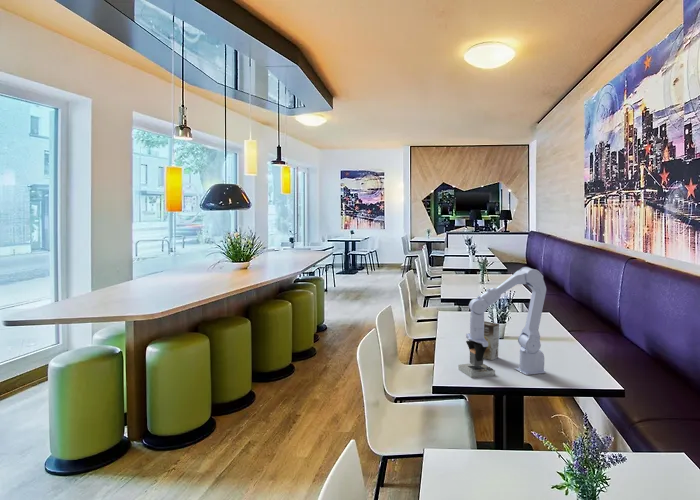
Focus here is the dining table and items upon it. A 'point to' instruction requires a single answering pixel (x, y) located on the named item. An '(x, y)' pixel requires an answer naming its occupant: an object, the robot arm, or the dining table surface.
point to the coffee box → (491, 340)
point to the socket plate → (476, 370)
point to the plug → (474, 358)
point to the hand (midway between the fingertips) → (476, 359)
